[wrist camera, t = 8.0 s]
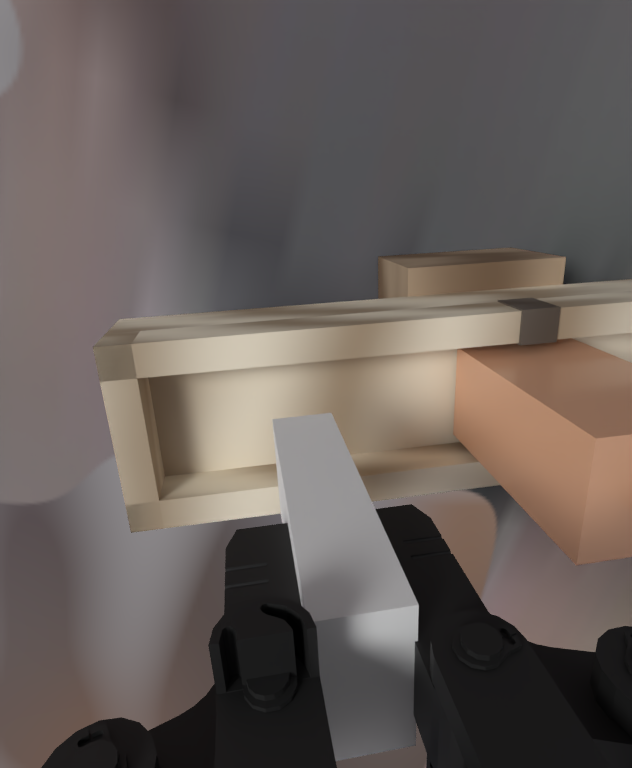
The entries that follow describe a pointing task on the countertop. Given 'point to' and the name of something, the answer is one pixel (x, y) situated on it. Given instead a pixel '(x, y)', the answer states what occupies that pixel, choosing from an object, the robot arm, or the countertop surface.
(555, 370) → the block
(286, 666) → the robot arm
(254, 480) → the beam
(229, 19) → the countertop surface
